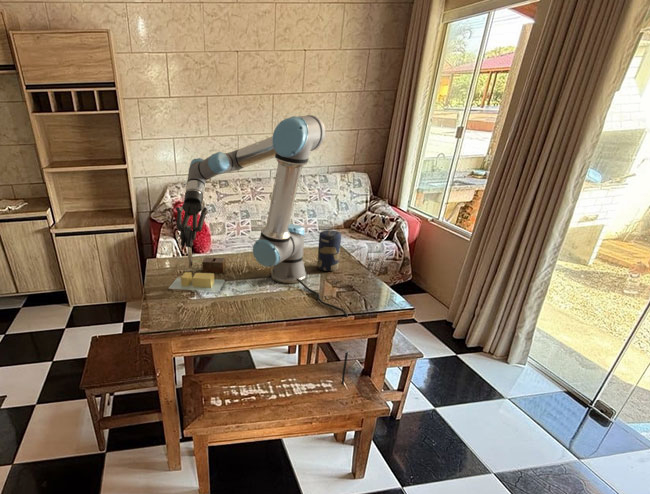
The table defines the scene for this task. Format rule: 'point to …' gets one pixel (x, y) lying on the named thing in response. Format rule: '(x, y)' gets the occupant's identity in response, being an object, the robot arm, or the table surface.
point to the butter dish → (215, 287)
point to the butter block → (203, 280)
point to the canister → (329, 250)
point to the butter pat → (186, 279)
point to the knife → (187, 234)
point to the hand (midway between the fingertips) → (186, 246)
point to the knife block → (214, 265)
